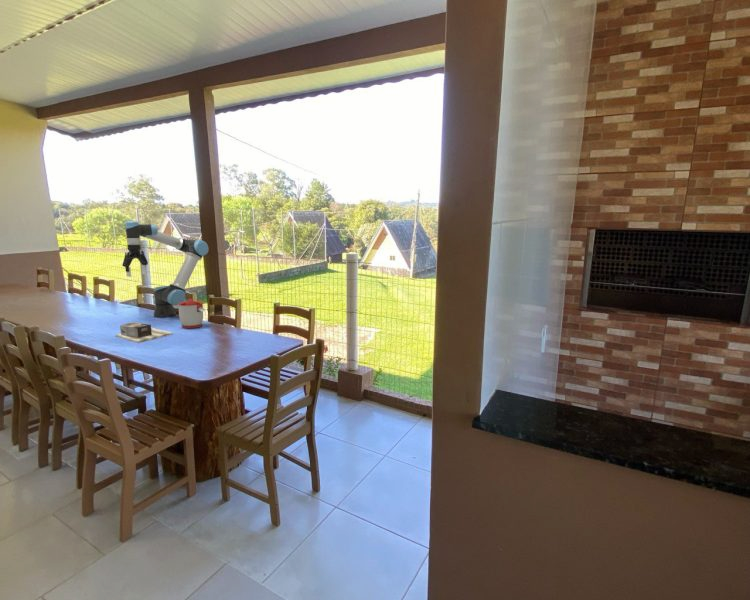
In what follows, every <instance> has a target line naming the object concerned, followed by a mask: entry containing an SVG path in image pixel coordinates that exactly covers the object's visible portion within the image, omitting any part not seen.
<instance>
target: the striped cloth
mask: <svg viewBox="0 0 750 600" xmlns="http://www.w3.org/2000/svg"><path fill="white" fill-rule="evenodd" d="M151 331H152V334H151V335H147V336H143V337H133V336H128V335H122V334H121V333H118V334H115V337H117V338H119V337H120V339H122V338H124V339H123V340H126V339H127V341H130V342H133V341H134V343H138V342H139V343H143V342H146V341H151V339H152V340H155V338H156V339H160V338H164V337H167V335H168V336H170V335H171V334H172V335H173V334H174V333H173V332H172V331H167V330H164V329H159V328H154V327H151ZM172 335H171V336H172ZM163 336H164V337H163ZM159 337H160V338H159ZM142 341H143V342H142Z"/></svg>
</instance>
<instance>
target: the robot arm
mask: <svg viewBox="0 0 750 600" xmlns="http://www.w3.org/2000/svg"><path fill="white" fill-rule="evenodd" d="M124 228H125V234H126V244H127V250H128V251H125V252H124V258H123V261H122V265H121V266H122V267H124V268H125V272H126V277H127V278H128V277H130V278H131V277H132V269H131V264H132V262H133V260H134V259H137V260H138V262H140V264H141V265H140V266H141V267H140V268H141V274H142V275H147V266H148V264H149V262H148V260H147V258H146V256H145V252H144V250H141V249H142V248H141V238H140V237H142V238H146V239H148V240H152V241H154V242H155V241H156V242H158V243H159V244H163V245H167V246H169V247H173V248H174V249H176V250H178V251H180V252H183V253H185V254H186V257H185V259H184V261H183V263H182V265H181V267H180V268H179V270H178V273H177V274H176V276H175V279H174V281H173V282H172V283H170V284H169V285H162V286H155V287H154V289H153V295H154V304H155V305H154V311H153V314H152V315H153V317H154V316H155V317H154V318H168V317H167V316H170V317H174V316H176V313H177V312H176V310H175V307H174V306H175V305H176V306H178V303H180V302H185V300H186V291H187V290H186V286H187V284H188V282H189V280H190V278H191V276H192V274H193V273H194V270H195V268H196V266H197V264H198V261H201V260H202V259H203V256H206V255H207V254H208V252H209V251H210V250H209V249H210V248H209V245H208V243H207V242H206V241H204V240H201V239H187V238H183V237H176V236H173V235H172V236H171V235H170V234H167V233H164V232H161V231H159V230H158V226H157V225H155V224H146V223H144V224H139V222H138V221H134V220H133V221H131V220H129V221H125V227H124Z"/></svg>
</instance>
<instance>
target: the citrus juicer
mask: <svg viewBox="0 0 750 600" xmlns="http://www.w3.org/2000/svg"><path fill="white" fill-rule="evenodd" d="M203 303H204V302H203V301H200V300H194V299H192V298H188V300H187V301H184V302H180V303H178V305H177V307H178V318H179V321H180V325H181V326H182V328H183V329H192V328H194V329H195V328H197V329H198V328H199V327H202V325H203V321H204V312H205V308H204V307H203V306H204V304H203Z"/></svg>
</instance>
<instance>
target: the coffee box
mask: <svg viewBox="0 0 750 600" xmlns="http://www.w3.org/2000/svg"><path fill="white" fill-rule="evenodd" d="M151 328H152V326H151V324H147V323H139V322H134V321H133V322H132V321H131V322H128V323H123V324H120V325H119V329H120V330H119V331H120V334H122V335H128V336H133V337H143V336H147V335H151V334H152V331H151Z"/></svg>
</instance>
